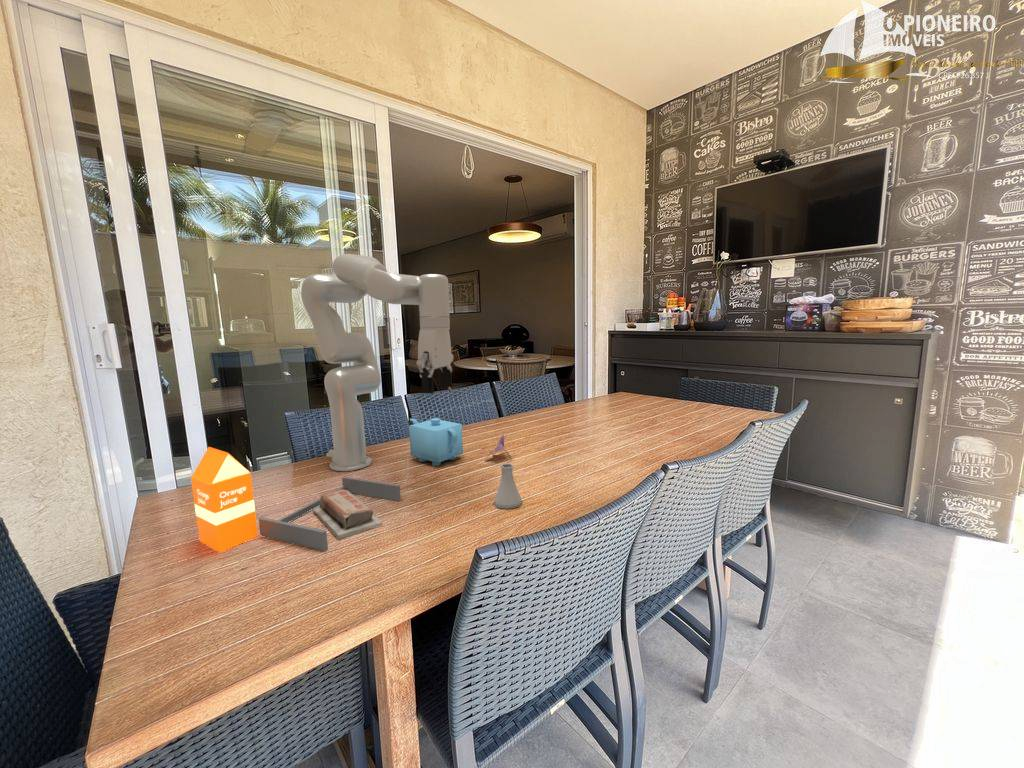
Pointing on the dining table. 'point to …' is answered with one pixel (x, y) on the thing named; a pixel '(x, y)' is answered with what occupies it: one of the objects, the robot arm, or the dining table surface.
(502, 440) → the lily
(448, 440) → the teapot
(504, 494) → the flask
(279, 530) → the grey twin-plate frame
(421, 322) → the robot arm
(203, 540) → the orange juice
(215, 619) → the dining table surface
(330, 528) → the packaged product
